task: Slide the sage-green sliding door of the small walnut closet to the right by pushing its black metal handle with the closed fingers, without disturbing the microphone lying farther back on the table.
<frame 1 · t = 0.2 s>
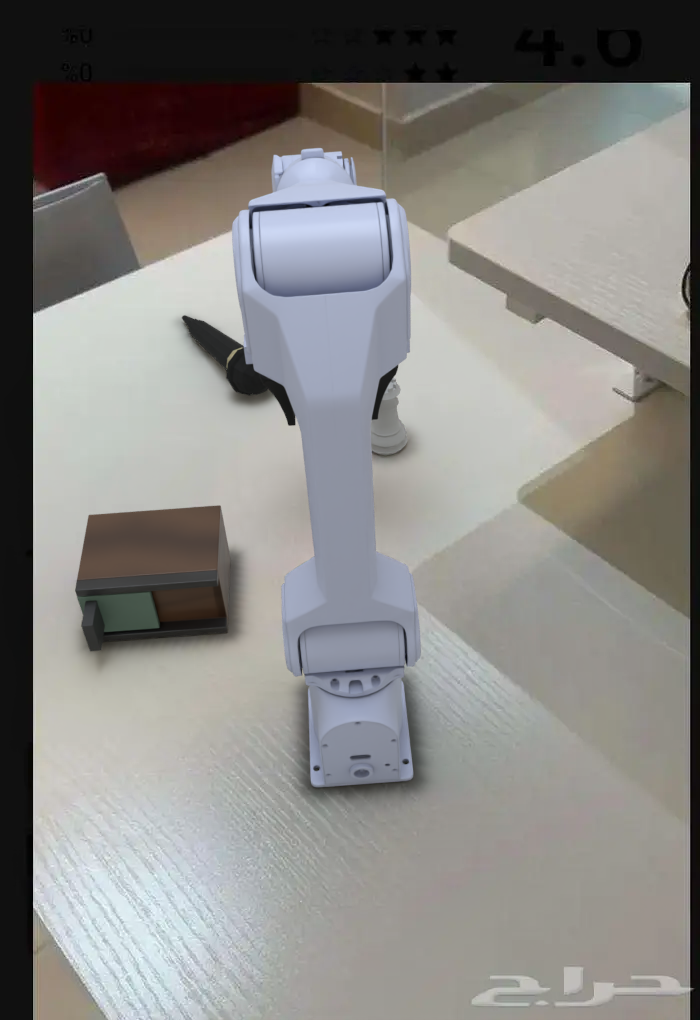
hand: (332, 416, 99), 10 cm above the table, tool pointing down, fingers open, 7 cm apart
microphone: (230, 360, 124), on the table
closet: (164, 594, 98), on the table
rook chess piece: (386, 444, 111), on the table
closet door: (117, 623, 91), point 4 cm above the table, slide at 0.0 cm
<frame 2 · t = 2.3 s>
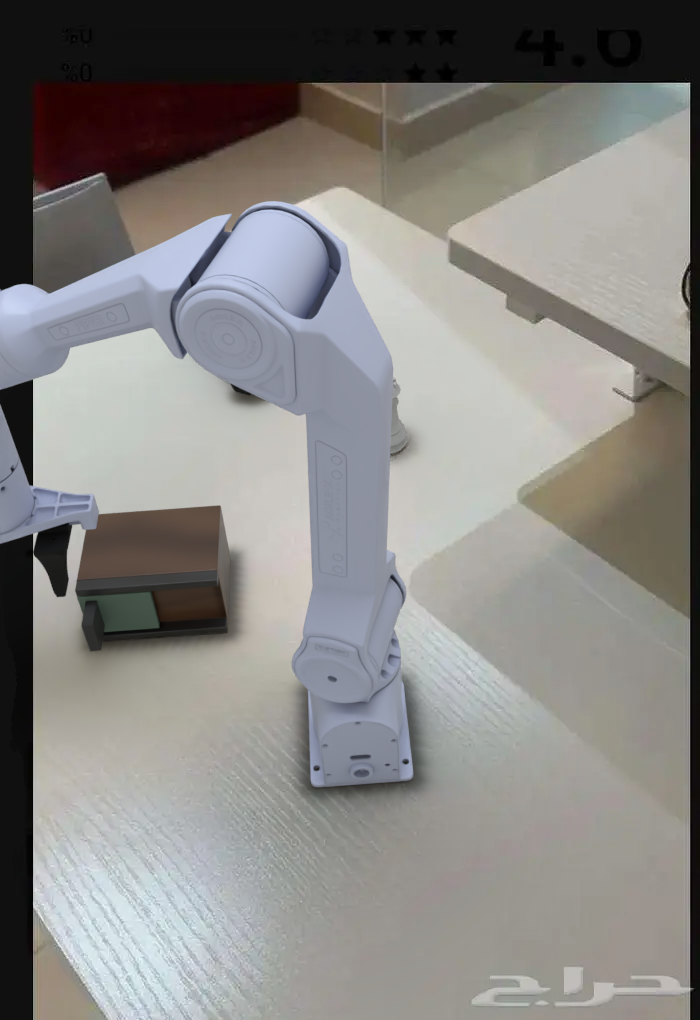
hand: (28, 590, 86), 9 cm above the table, tool pointing down, fingers open, 5 cm apart
nothing on the table moved.
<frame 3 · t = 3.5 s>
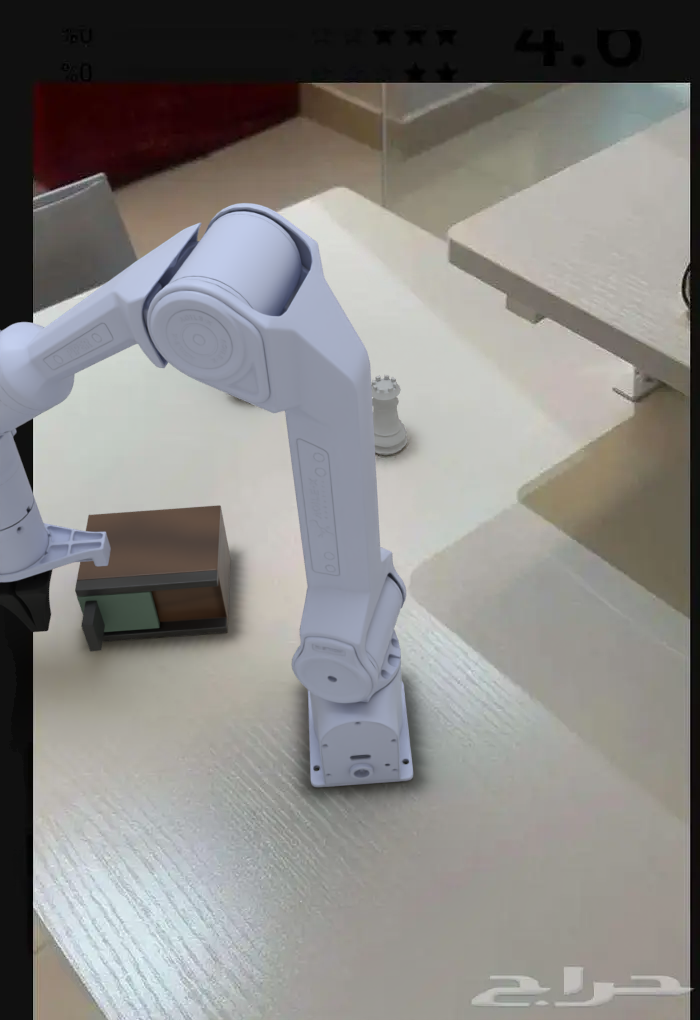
hand: (41, 622, 89), 5 cm above the table, tool pointing down, fingers closed
nothing on the table moved.
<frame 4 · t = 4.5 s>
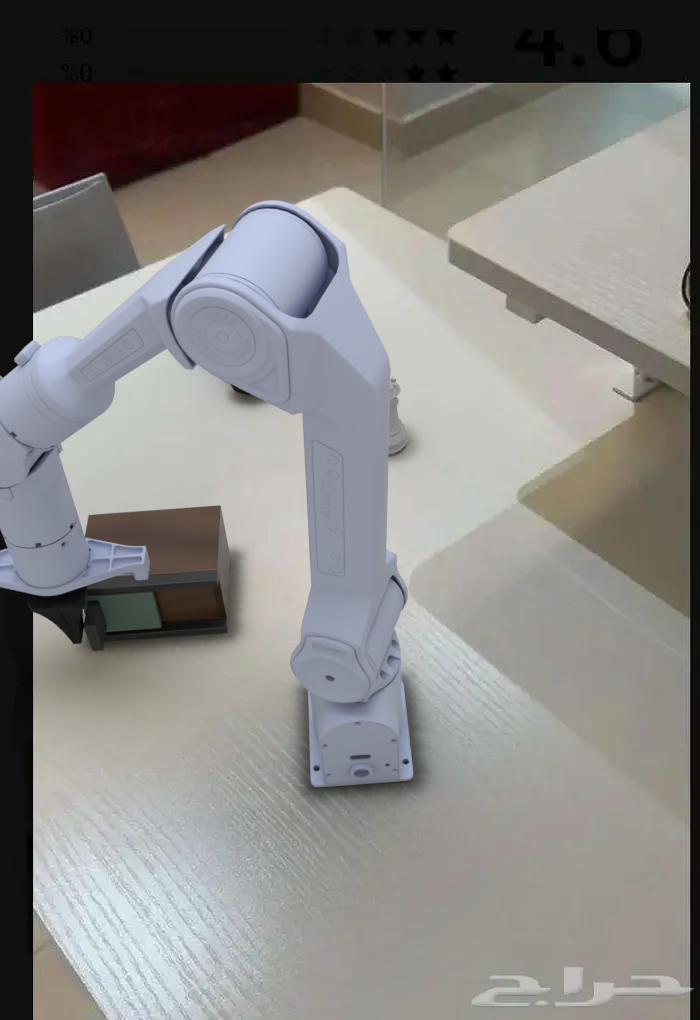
hand: (79, 634, 90), 4 cm above the table, tool pointing down, fingers closed, pressing on closet
closet door: (119, 622, 91), point 4 cm above the table, slide at 0.2 cm, touching gripper
everything else where it was.
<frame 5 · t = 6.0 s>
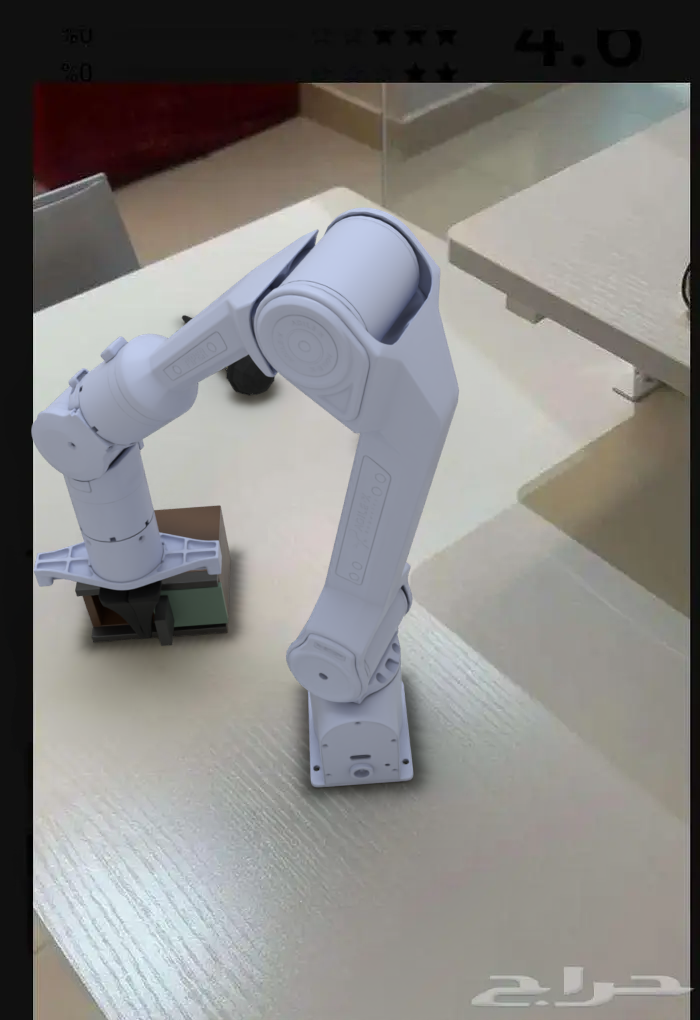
hand: (147, 629, 90), 4 cm above the table, tool pointing down, fingers closed, pressing on closet
closet door: (188, 617, 91), point 4 cm above the table, slide at 6.1 cm, touching gripper
everything else where it was.
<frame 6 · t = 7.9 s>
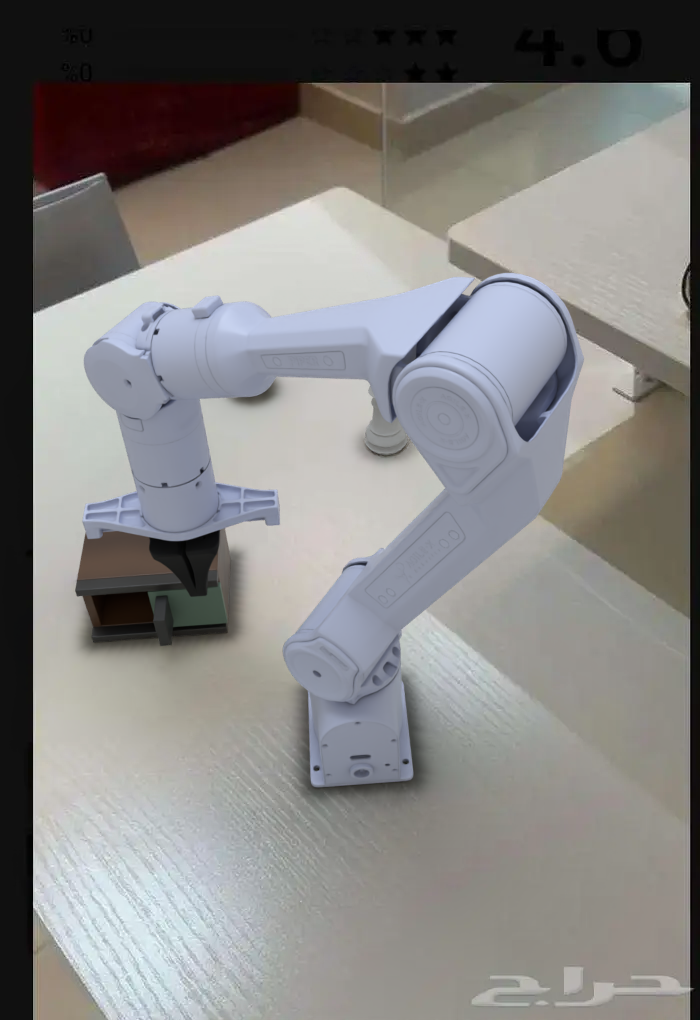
hand: (199, 587, 85), 9 cm above the table, tool pointing down, fingers closed
closet door: (187, 617, 91), point 4 cm above the table, slide at 6.0 cm
everything else where it was.
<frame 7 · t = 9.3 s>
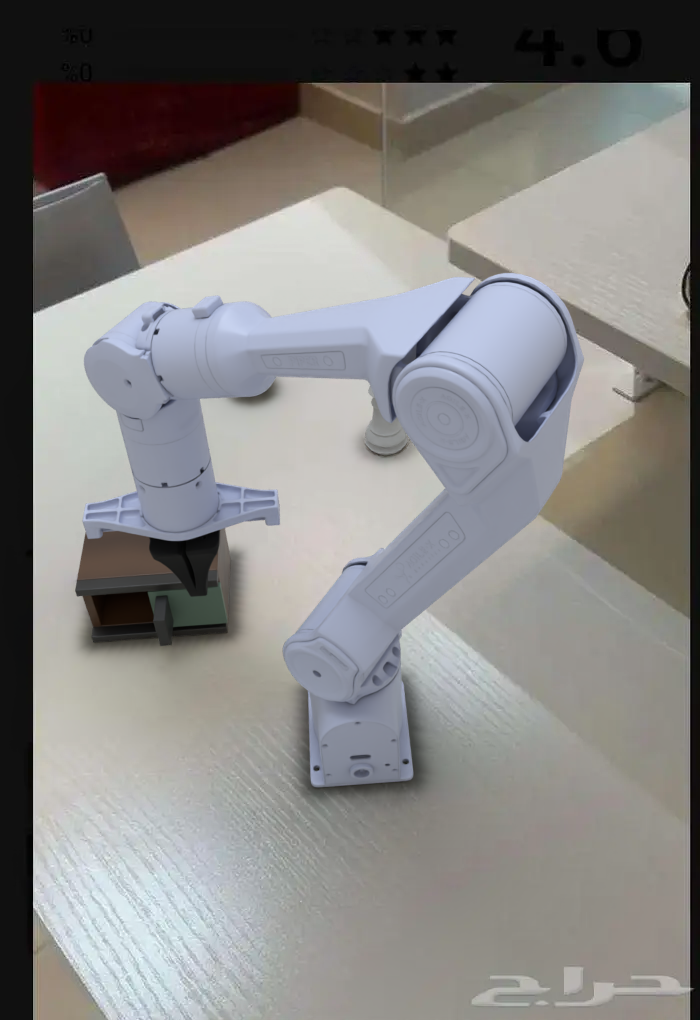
hand: (199, 587, 85), 9 cm above the table, tool pointing down, fingers closed
nothing on the table moved.
at the end: closet door slide at 6.0 cm; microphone moved 0.2 cm from its start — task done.
